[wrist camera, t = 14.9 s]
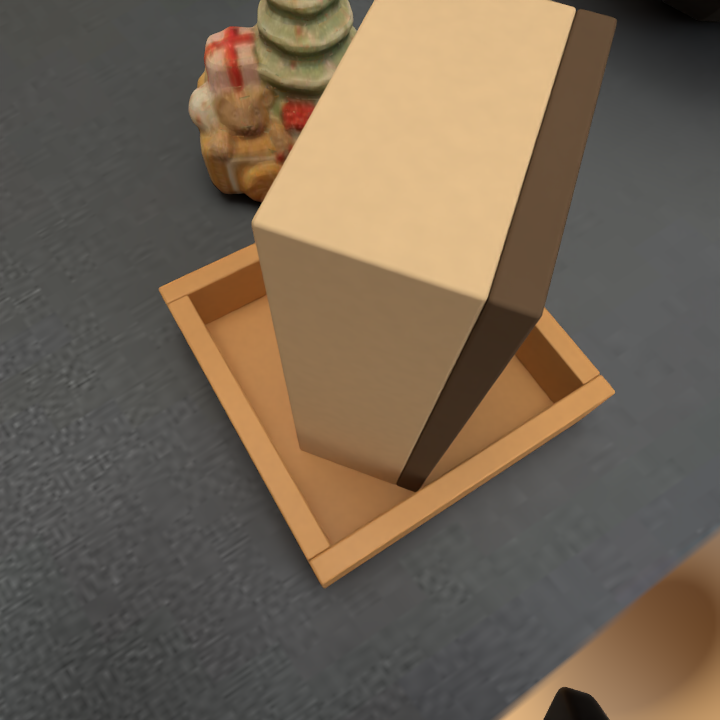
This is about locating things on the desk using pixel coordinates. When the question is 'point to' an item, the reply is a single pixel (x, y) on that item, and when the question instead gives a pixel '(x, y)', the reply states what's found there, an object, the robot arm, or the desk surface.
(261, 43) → the ornament
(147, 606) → the desk surface
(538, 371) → the mount frame
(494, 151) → the back pad
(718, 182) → the desk surface
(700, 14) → the table lamp
